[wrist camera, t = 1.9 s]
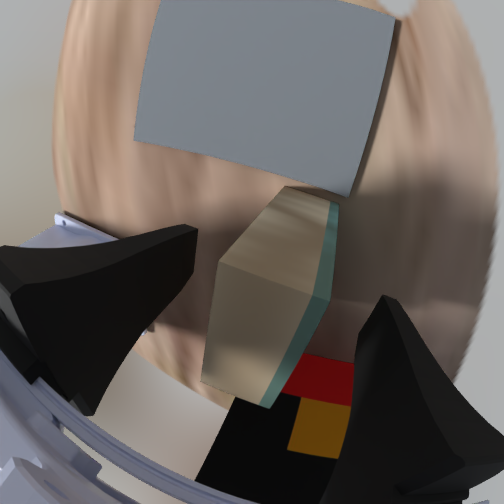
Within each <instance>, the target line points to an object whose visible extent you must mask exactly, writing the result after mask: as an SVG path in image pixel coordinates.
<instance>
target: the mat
mask: <svg viewBox="0 0 504 504" xmlns="http://www.w3.org/2000/svg"><path fill="white" fill-rule="evenodd" d="M394 24H395V17H392V16H390V15H387V14H384V13H381V12H378V11H375V10H372V9H369V8H365V7H362V6H358V5H355V4H351V3H347V2H343V1H339V0H161V2H160V5H159V9H158V12H157V16H156V19H155V23H154V26H153V30H152V34H151V38H150V42H149V47H148V51H147V56H146V60H145V65H144V71H143V76H142V81H141V87H140V93H139V100H138V107H137V114H136V123H135V131H134V141H139V142H145V143H150V144H156V145H161V146H166V147H171V148H176V149H180V150H185V151H190V152H194V153H198V154H203V155H207V156H211V157H215V158H219V159H223V160H227V161H231V162H235V163H239V164H243V165H246V166H250V167H254V168H257V169H261V170H264V171H268V172H271V173H275V174H278V175H281V176H285V177H288V178H291V179H294V180H297V181H301V182H304V183H307V184H310V185H313V186H316V187H319V188H322V189H325V190H328V191H330V192H333V193H336V194H339V195H342V196H345V197H347V198H348V197H349V194H350V191H351V188H352V185H353V182H354V179H355V176H356V173H357V170H358V167H359V164H360V161H361V157H362V154H363V151H364V148H365V144H366V141H367V138H368V134H369V131H370V127H371V124H372V120H373V117H374V113H375V109H376V105H377V102H378V98H379V94H380V90H381V86H382V82H383V77H384V73H385V69H386V64H387V60H388V55H389V50H390V45H391V40H392V35H393V29H394Z"/></svg>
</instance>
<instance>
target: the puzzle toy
mask: <svg viewBox="0 0 504 504" xmlns="http://www.w3.org/2000/svg"><path fill="white" fill-rule="evenodd" d="M353 376H354V364H353V363H348V362H342V361H337V360H333V359H328V358H323V357H319V356H314V355H310V354H305V353H303V354H302V356H301V358H300V359H299V361H298V363H297V365H296V366H295V368H294V370H293V371H292V373H291V375H290V377H289V378H288V380H287V382H286V383H285V385H284V387H283V388H282V390H281V392H280V393H279V395H278V396H277V398H276V400H275V401H274V403H273V404H272V406H271V408H270V409H269V408H266V407H263V406H260V405H257V404H254V403H252V402H249V401H246V400H244V399H241V398H238V397H235V399H234V401H233V403H232V405H231V407H230V410H229V412H228V414H227V416H226V418H225V420H224V422H223V424H222V426H221V429H220V431H219V433H218V435H217V437H216V439H215V441H214V443H213V445H212V447H211V449H210V451H209V453H208V455H207V457H206V459H205V461H204V463H203V465H202V467H201V469H200V471H199V473H198V475H197V477H196V479H195V482H198V483H200V484H202V485H205V486H207V487H210V488H213V489H215V490H218V491H221V492H223V493H226V494H229V495H232V496H235V497H238V498H241V499H245V500H248V501H251V502H255V503H258V504H319V503H320V501H321V499H322V496H323V494H324V492H325V490H326V488H327V486H328V483H329V481H330V479H331V476H332V474H333V471H334V468H335V466H336V463H337V460H338V457H339V454H340V451H341V448H342V444H343V441H344V438H345V434H346V430H347V426H348V421H349V417H350V411H351V403H352V391H353Z"/></svg>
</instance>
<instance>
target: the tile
mask: <svg viewBox="0 0 504 504" xmlns="http://www.w3.org/2000/svg"><path fill="white" fill-rule="evenodd" d="M338 214H339V204H337V203H334V202H331V201H328V200H326V199H323V198H320V197H317V196H314V195H311V194H308V193H305V192H302V191H299V190H296V189H293V188H289V187H286V186H284V187H283V189H282V190H281V191H280V192H279V193H278V194H277V195H276V196H275V197H274V199H273V200H272V201H271V202H270V203H269V204H268V205H267V206H266V208H265V209H264V210H263V211H262V212H261V213H260V214H259V215H258V217H257V218H256V219H255V220H254V221H253V222H252V223H251V224H250V226H249V227H248V228H247V229H246V230H245V231H244V232H243V233H242V235H241V236H240V237H239V238H238V239H237V240H236V241H235V243H234V244H233V245H232V246H231V247H230V248H229V249H228V251H227V252H226V253H225V254H224V255H223V256H222V257H221V259H220V260H219V261H218V267H217V273H216V279H215V285H214V291H213V297H212V304H211V310H210V317H209V323H208V330H207V337H206V344H205V351H204V358H203V366H202V373H201V381H200V382H203V383H205V384H207V385H209V386H212V387H214V388H216V389H219V390H221V391H223V392H226V393H228V394H231V395H233V396H236V397H238V398H241V399H244V400H246V401H249V402H252V403H254V404H257V405H260V406H263V407H266V408H269V409H270V408H271V406H272V404H273V403H274V401H275V400H276V398H277V396H278V395H279V393H280V392H281V390H282V388H283V387H284V385H285V383H286V382H287V380H288V378H289V377H290V375H291V373H292V371H293V370H294V368H295V366H296V365H297V363H298V361H299V359H300V358H301V356H302V354H303V352H304V350H305V349H306V347H307V345H308V343H309V341H310V339H311V338H312V336H313V334H314V332H315V330H316V328H317V326H318V324H319V322H320V320H321V318H322V317H323V315H324V313H325V311H326V309H327V307H328V305H329V303H330V298H331V290H332V282H333V273H334V263H335V253H336V242H337V229H338Z"/></svg>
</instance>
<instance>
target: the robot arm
mask: <svg viewBox="0 0 504 504" xmlns="http://www.w3.org/2000/svg"><path fill="white" fill-rule="evenodd" d="M55 223H56V225H54V226H52V227H50V228H49V229H47V230H45V231H44V232H42V233H40V234H38V235H36V236H35V237H33V238H31V239H30V240H28V241H26V242H24V243H23V244H21V245H19V246H18V247H15V246H6V245H4V246H1V247H0V504H140V503H138V502H137V501H135V500H133V499H131V498H129V497H128V496H126V495H124V494H123V493H121V492H119V491H118V490H116V489H114V488H113V487H111V486H110V485H108V484H107V483H105V482H104V481H102V480H101V479H99V478H98V477H97V474H98V473H99V471H100V470H101V468H102V466H101V464H99V463H98V462H97V461H95V460H94V459H93V458H91V457H90V456H89V455H88V454H86V453H85V452H84V451H83V450H82V449H81V448H80V447H79V446H77V445H76V444H75V443H74V442H73V441H71V440H70V439H69V438H68V437H67V436H66V435H64V434H63V432H64V426H65V427H66V428H67V429H68V430H69V431H70V432H72V433H73V434H74V435H75V436H77V437H78V438H79V439H80V440H82V441H83V442H84V443H85V444H87V445H88V446H89V447H91V448H92V449H93V450H95V451H96V452H98V453H99V454H100V455H102V456H103V457H104V458H106V459H107V460H109V461H110V462H112V463H113V464H115V465H116V466H118V467H119V468H121V469H123V470H124V471H126V472H128V473H129V474H131V475H132V476H134V477H136V478H138V479H139V480H141V481H143V482H145V483H146V484H149V485H150V486H152V487H154V488H156V489H158V490H160V491H162V492H164V493H166V494H168V495H170V496H172V497H174V498H176V499H179V500H181V501H183V502H186V503H188V504H258V503H255V502H251V501H248V500H245V499H241V498H238V497H235V496H232V495H229V494H226V493H223V492H221V491H218V490H215V489H213V488H210V487H207V486H205V485H202V484H200V483H198V482H195V481H193V480H191V479H188V478H186V477H184V476H182V475H180V474H178V473H175V472H173V471H171V470H169V469H167V468H165V467H163V466H161V465H159V464H158V463H155V462H154V461H152V460H150V459H148V458H147V457H145V456H143V455H141V454H140V453H138V452H136V451H134V450H133V449H131V448H130V447H128V446H126V445H125V444H123V443H122V442H120V441H119V440H117V439H116V438H114V437H113V436H111V435H110V434H108V433H107V432H105V431H104V430H102V429H101V428H100V427H98V426H97V425H96V424H94V423H93V422H92V421H90V420H89V419H88V418H86V417H85V416H93V415H94V414H95V412H96V409H97V407H98V405H99V403H100V401H101V399H102V397H103V395H104V393H105V391H106V389H107V387H108V386H109V384H110V382H111V380H112V379H113V377H114V375H115V374H116V372H117V370H118V369H119V367H120V365H121V364H122V362H123V361H124V359H125V357H126V356H127V354H128V353H129V351H130V350H131V349H132V347H133V346H134V344H135V343H136V341H137V340H138V339H139V337H140V336H141V335H145V334H146V333H147V327H148V326H149V325H150V324H151V323H152V322H153V321H154V320H155V319H156V317H157V316H158V315H159V314H160V313H161V312H162V311H163V310H164V309H165V308H166V307H167V306H168V304H169V303H170V302H171V301H172V300H173V299H174V298H175V297H176V296H177V295H178V293H179V292H180V291H181V290H182V288H183V287H184V286H185V284H186V283H187V281H188V280H189V278H190V277H191V275H192V274H193V272H194V262H195V253H196V245H197V236H198V229H197V228H194V227H192V226H189V225H186V224H182V225H176V226H171V227H167V228H163V229H159V230H155V231H151V232H148V233H144V234H140V235H136V236H132V237H127V238H123V239H117V238H115V237H112V236H110V235H108V234H106V233H103V232H101V231H99V230H97V229H95V228H92V227H90V226H88V225H86V224H84V223H82V222H79V221H77V220H75V219H73V218H71V217H69V216H67V215H65V214H62V213H60V212H58V213H56V214H55ZM502 470H504V436H503V435H502V434H501V433H500V432H499V431H498V430H496V429H495V428H494V427H493V426H492V425H490V424H489V423H488V422H487V421H486V420H485V419H484V418H483V417H482V416H481V415H480V414H479V413H478V412H477V411H476V410H475V409H474V408H473V407H472V406H471V405H470V404H469V403H468V401H467V400H466V399H465V398H464V397H463V396H462V395H461V393H460V392H459V391H458V390H457V388H456V387H455V386H454V385H453V383H452V382H451V381H450V379H449V378H448V377H447V375H446V374H445V373H444V371H443V370H442V369H441V367H440V366H439V364H438V363H437V361H436V360H435V358H434V357H433V355H432V354H431V352H430V351H429V349H428V348H427V346H426V344H425V343H424V341H423V340H422V338H421V336H420V335H419V333H418V331H417V330H416V328H415V327H414V325H413V323H412V322H411V320H410V318H409V317H408V315H407V314H406V312H405V311H404V309H403V308H402V306H401V305H400V303H399V302H398V301H397V300H396V299H394V298H391V297H388V296H385V295H382V296H381V298H380V300H379V301H378V303H377V305H376V306H375V308H374V310H373V311H372V313H371V315H370V316H369V318H368V320H367V321H366V323H365V324H364V326H363V327H362V329H361V331H360V332H359V335H358V340H357V346H356V352H355V360H354V376H353V391H352V403H351V411H350V417H349V421H348V426H347V430H346V434H345V438H344V441H343V444H342V448H341V451H340V454H339V457H338V460H337V463H336V466H335V468H334V471H333V474H332V476H331V479H330V481H329V483H328V486H327V488H326V490H325V492H324V494H323V496H322V499H321V501H320V503H319V504H462V500H465V499H467V498H468V497H469V489H470V488H472V487H474V486H477V485H478V484H480V483H482V482H484V481H486V480H488V479H490V478H491V477H493V476H495V475H496V474H498V473H500V472H501V471H502ZM474 504H489V500H485V501H482V502H479V503H474Z"/></svg>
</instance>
